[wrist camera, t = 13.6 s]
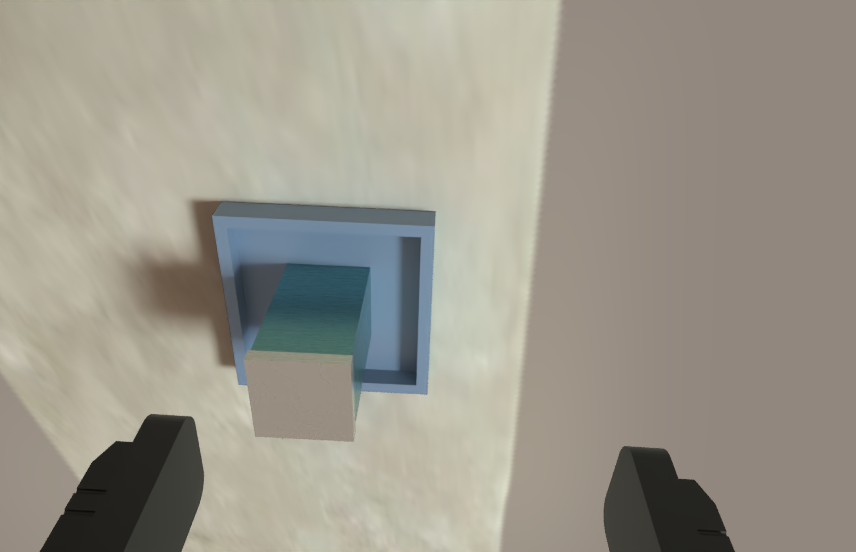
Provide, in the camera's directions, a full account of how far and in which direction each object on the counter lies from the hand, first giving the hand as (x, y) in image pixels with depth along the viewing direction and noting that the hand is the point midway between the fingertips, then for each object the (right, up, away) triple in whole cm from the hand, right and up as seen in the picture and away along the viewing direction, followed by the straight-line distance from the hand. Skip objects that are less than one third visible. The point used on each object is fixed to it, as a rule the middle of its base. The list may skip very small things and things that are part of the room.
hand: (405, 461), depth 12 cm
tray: (-6, +2, +33) cm, 34 cm away
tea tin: (-6, +2, +33) cm, 33 cm away
